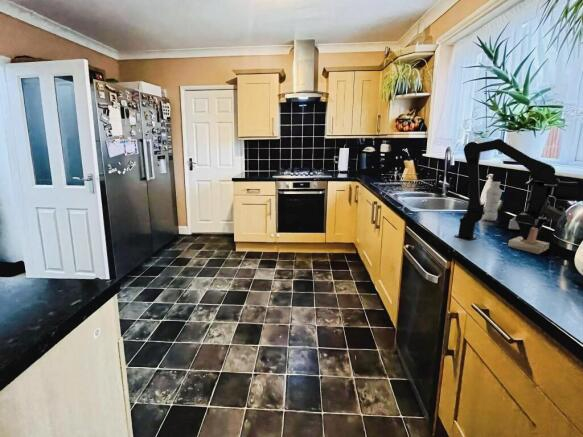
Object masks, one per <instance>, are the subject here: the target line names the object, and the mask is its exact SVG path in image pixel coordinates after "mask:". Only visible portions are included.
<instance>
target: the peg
mask: <svg viewBox="0 0 583 437" xmlns="http://www.w3.org/2000/svg"><path fill="white" fill-rule="evenodd" d="M537 232H538V228H534V227H532V229H531V232H530V234H529V236H528V239H527V240H523V242H526V243H530V244H535V241H536V240H537V236H538V234H537Z"/></svg>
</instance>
